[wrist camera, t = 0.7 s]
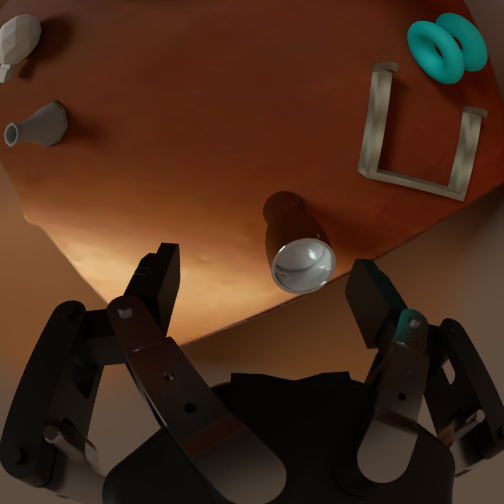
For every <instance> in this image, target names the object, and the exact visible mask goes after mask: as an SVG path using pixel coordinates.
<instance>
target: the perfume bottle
mask: <svg viewBox="0 0 504 504" xmlns="http://www.w3.org/2000/svg"><path fill="white" fill-rule="evenodd" d="M41 31H42V30H41V26H40V23H39V20H38V19H37V18H35V17H33V16H31V15H29V14H26V15H20V16H16V17H15V18H13V19H12V20H10V21H8V22H7V23H5V24H4V25H3V26H2V28H1V29H0V63H2V64H1V67H0V82H2V83H4V82H6V81H8V80H10V78H11V75H12V72H13V69H14V67H13V65H14V64H17V63H19V62H20V61H21V60H23V59H24V58H25V57H27V56H28V55H29V54H30V53H31V52H32V50H33V49H34V48H35V46H36V45H37V44H38V41H39V38H40V34H41Z"/></svg>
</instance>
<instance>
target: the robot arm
mask: <svg viewBox="0 0 504 504" xmlns="http://www.w3.org/2000/svg"><path fill="white" fill-rule="evenodd" d="M179 285H180V251H179V244H174V243H161V245H160V247H159V249H158V251H157V253H149V254H147V255H146V256H145V257H144V258H142V259H141V261H140V263H139V265H138V267H137V269H136V270H135V272H134V274H133V276H132V278H131V280H130V282H129V284H128V286H127V288H126V290H125V292H124V295H123V296H119V297H117V298H115V299H113V300H112V301H111V302H110V303H109V305H108V307H107V309H102V310H93V311H86V309H85V306H84V305H83V304H82V303H81V302H79V301H74V300H72V301H66V302H63V303H61V304H60V305H58V306H57V307H56V308H55V310H54V311H53V313H52V315H51V317H50V318H49V320H48V322H47V324H46V326H45V328H44V330H43V332H42V334H41V336H40V338H39V340H38V342H37V344H36V346H35V348H34V350H33V352H32V355H31V357H30V359H29V361H28V363H27V366H26V368H25V370H24V373H23V375H22V378H21V380H20V383H19V385H18V388H17V390H16V393H15V396H14V398H13V401H12V404H11V407H10V410H9V413H8V416H7V420H6V423H5V426H4V430H3V434H2V437H1V441H0V462H1V464H2V466H3V468H4V469H5V470H6V472H7V473H9V474H10V475H11V476H13V477H14V478H16V479H18V480H20V481H23V482H25V483H26V484H27V485H29V486H31V487H33V488H36V489H38V490H40V491H43V492H45V493H48V494H51V495H56V496H59V497H61V498H67V499H68V498H70V499H73V500H75V501H78V502H81V503H84V504H452V490H453V482H454V477H459V476H461V475H463V474H465V473H467V472H469V471H471V470H472V469H474V468H476V467H478V466H479V465H481V464H483V463H484V462H486V461H488V460H489V459H491V458H492V457H494V456H496V455H497V454H499V453H500V452H502V451H503V450H504V406H503V404H502V401H501V399H500V397H499V394H498V392H497V390H496V388H495V386H494V384H493V381H492V380H491V377H490V376H489V373H488V371H487V370H486V368H485V366H484V364H483V362H482V360H481V358H480V356H479V354H478V352H477V351H476V349H475V347H474V345H473V343H472V342H471V340H470V338H469V337H468V335H467V333H466V332H465V330H464V328H463V327H462V326H461V324H460V323H458V322H457V321H455V320H453V319H450V318H446V319H444V320H443V322H442V323H441V325H440V326H435V325H430V324H428V321H427V319H426V318H425V316H424V315H422V314H421V313H420V312H418V311H416V310H413V309H408V307H407V306H406V304H405V302H404V301H403V299H402V298H401V296H400V295H399V293H398V292H397V291H396V288H395V287H394V286H393V284H392V282H391V281H390V279H389V278H388V277H387V276H386V275H385V274H384V273H383V272H382V271H380V270H379V269H378V267H377V266H376V264H375V263H374V261H373V260H371V259H359V258H358V259H356V260H355V262H354V264H353V267H352V270H351V273H350V275H349V278H348V281H347V283H346V287H345V295H346V299H347V301H348V303H349V306H350V308H351V310H352V313H353V315H354V317H355V319H356V322H357V324H358V327H359V329H360V332H361V334H362V337H363V339H364V341H365V344H366V347H367V349H374V348H378V352H377V354H376V355H375V358H374V360H373V363H372V365H371V368H370V370H369V373H368V375H367V377H366V379H365V382H364V383H362V382H359V381H355V380H351V378H350V375H349V371H346V372H332V373H321V374H318V375H314V376H310V377H307V378H303V379H299V380H287V379H283V378H278V377H273V376H269V375H264V374H245V373H244V374H243V373H231V380H230V382H224V383H221V384H217V385H215V386H212V387H210V388H209V386H208V385H207V384H206V383H205V381H204V380H203V379H202V377H201V376H200V375H199V374H198V372H197V371H196V370H195V368H194V367H193V366H192V364H191V363H190V362H189V360H188V359H187V358H186V356H185V355H184V354H183V352H182V351H181V349H180V348H179V346H178V345H177V344H176V342H175V341H174V340H173V338H171V337H170V336H169V337H167V338H166V335H167V331H168V327H169V323H170V319H171V315H172V312H173V308H174V304H175V300H176V297H177V293H178V289H179ZM448 359H449V360H450V362H451V364H452V367H453V369H454V371H455V379H454V381H453V383H452V384H451V385H450V384H449V381H448V379H447V377H446V374H445V372H444V370H443V368H442V366H443V365H444V364H445V363H446V361H447V360H448ZM123 363H125V365H126V367H127V369H128V371H129V373H130V375H131V377H132V379H133V380H134V383H135V384H136V386H137V388H138V390H139V392H140V394H141V395H142V397H143V399H144V401H145V403H146V405H147V407H148V409H149V410H150V412H151V414H152V416H153V417H154V419H155V420H156V422H157V424H158V425H159V427H160V429H159V430H158V431H157V432H156V433H155V434H154V435H152V436H151V437H150V438H149V439H148V440H147V441H145V442H144V443H143V444H142V445H141V446H140V447H138V448H137V449H136V450H135V451H134V452H132V453H131V454H130V455H128V456H127V457H126V458H125V459H124V460H122V461H121V462H120V463H118V464H117V465H116V466H115V467H114V468H112V470H111V471H110V472H109V473H108V475H107V476H105V475H104V474H103V472H102V471H101V469H100V466H99V459H98V452H97V449H96V447H95V446H94V444H93V443H92V442H91V441H90V440H89V439H88V438H87V436H88V430H89V425H90V420H91V416H92V411H93V407H94V403H95V398H96V395H97V391H98V387H99V383H100V379H101V376H102V372H103V368H104V365H114V364H123ZM423 395H424V398H425V400H426V403H427V406H428V409H429V412H430V415H431V418H432V421H433V424H434V427H435V431H436V434H437V437H435V436H434V435H433V434H431V433H430V432H429V431H427V430H426V429H425V428H424V427H422V426H421V425H420V424H418V423H417V419H418V415H419V412H420V408H421V404H422V399H423Z"/></svg>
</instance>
